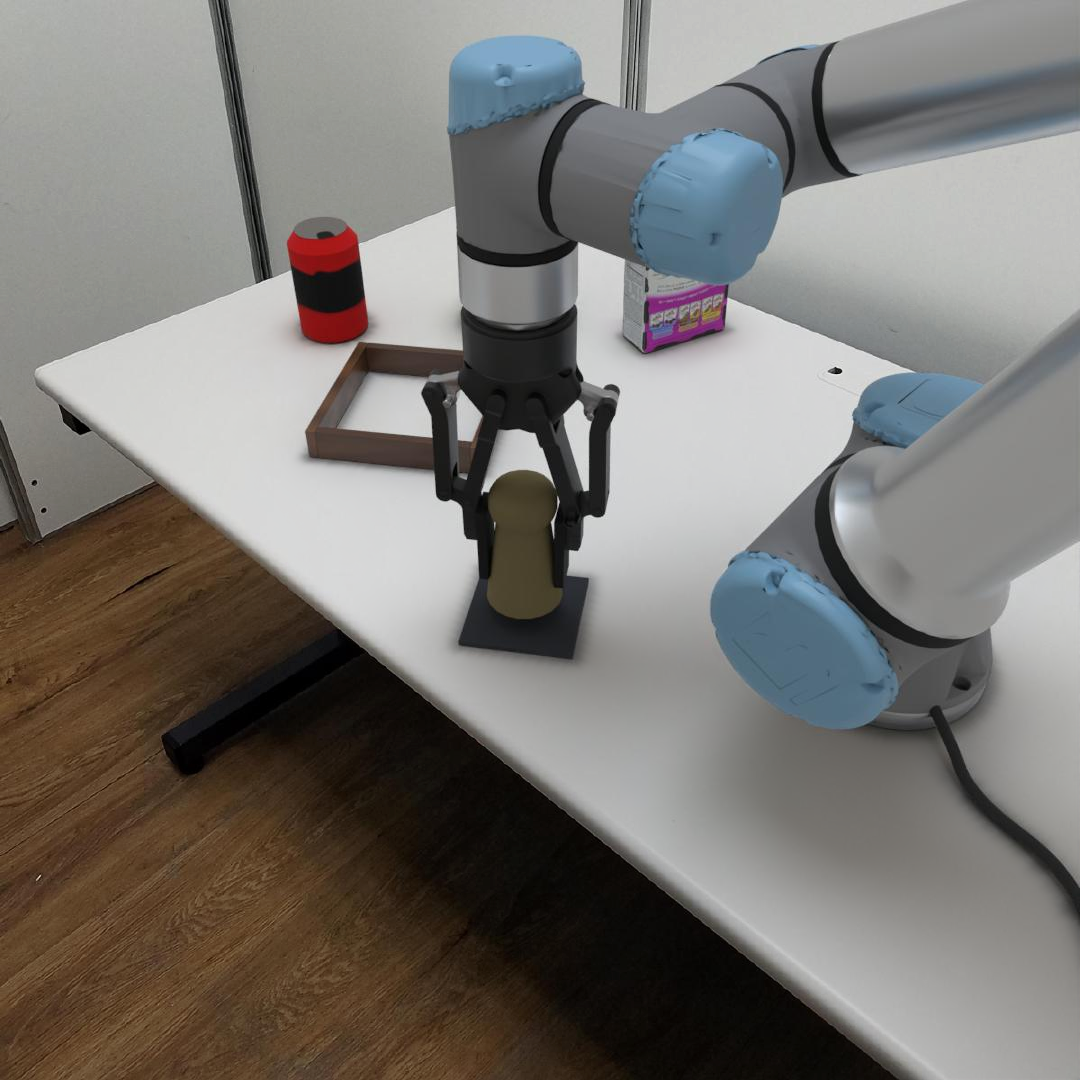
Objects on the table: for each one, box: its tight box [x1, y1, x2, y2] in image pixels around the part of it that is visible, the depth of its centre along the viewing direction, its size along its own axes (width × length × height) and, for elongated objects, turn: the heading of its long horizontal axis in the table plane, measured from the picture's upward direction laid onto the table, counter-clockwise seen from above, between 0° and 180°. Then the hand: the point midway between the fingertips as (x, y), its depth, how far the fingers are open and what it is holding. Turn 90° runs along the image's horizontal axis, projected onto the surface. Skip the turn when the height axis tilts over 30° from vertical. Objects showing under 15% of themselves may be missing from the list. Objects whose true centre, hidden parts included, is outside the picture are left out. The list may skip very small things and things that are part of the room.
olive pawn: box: [487, 469, 562, 619], centre depth 81 cm, size 6×6×11 cm
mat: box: [458, 575, 589, 660], centre depth 86 cm, size 9×9×1 cm
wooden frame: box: [304, 341, 483, 474], centre depth 107 cm, size 17×17×3 cm
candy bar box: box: [622, 259, 730, 354], centre depth 115 cm, size 11×5×16 cm, turn 119°
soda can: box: [286, 216, 369, 344], centre depth 118 cm, size 8×8×12 cm
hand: (524, 571), depth 83 cm, fingers closed on olive pawn, 5 cm apart
